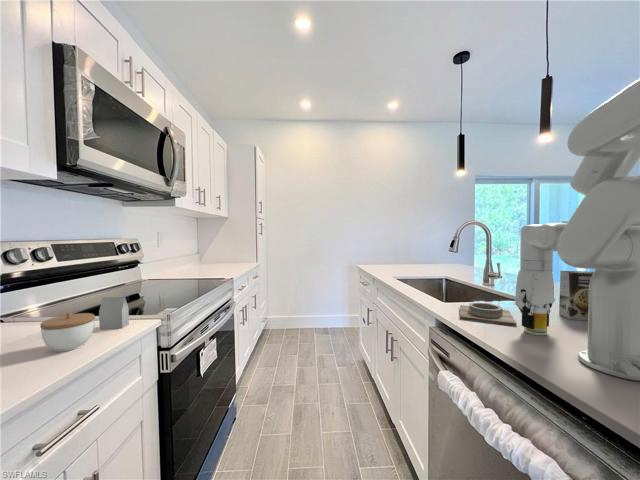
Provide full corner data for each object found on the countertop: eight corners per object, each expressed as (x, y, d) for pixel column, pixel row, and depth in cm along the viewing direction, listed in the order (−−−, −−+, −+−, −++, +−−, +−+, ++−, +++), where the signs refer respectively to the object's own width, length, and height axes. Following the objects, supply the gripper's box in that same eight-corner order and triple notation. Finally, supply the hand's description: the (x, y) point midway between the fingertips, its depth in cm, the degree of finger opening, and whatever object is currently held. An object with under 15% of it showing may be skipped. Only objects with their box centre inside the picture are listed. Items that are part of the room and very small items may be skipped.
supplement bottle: (551, 336, 78) (551, 302, 77) (530, 335, 79) (530, 302, 78) (540, 329, 83) (540, 298, 83) (520, 328, 84) (520, 297, 84)
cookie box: (570, 319, 92) (570, 272, 92) (558, 314, 98) (559, 270, 98) (602, 321, 90) (603, 273, 90) (588, 315, 96) (589, 270, 96)
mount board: (516, 326, 86) (516, 315, 86) (460, 319, 94) (460, 309, 94) (508, 312, 100) (508, 303, 100) (460, 307, 108) (460, 299, 108)
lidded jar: (79, 353, 69) (78, 317, 69) (29, 358, 67) (27, 320, 67) (103, 337, 80) (102, 306, 79) (61, 341, 77) (60, 308, 77)
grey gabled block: (122, 328, 88) (121, 297, 87) (99, 329, 87) (98, 298, 86) (129, 324, 91) (128, 295, 91) (107, 325, 90) (106, 296, 90)
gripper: (542, 263, 86) (541, 319, 87) (502, 265, 81) (501, 325, 82) (570, 266, 79) (569, 327, 80) (528, 269, 74) (527, 334, 75)
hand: (535, 325), depth 81 cm, fingers closed on supplement bottle, 5 cm apart
